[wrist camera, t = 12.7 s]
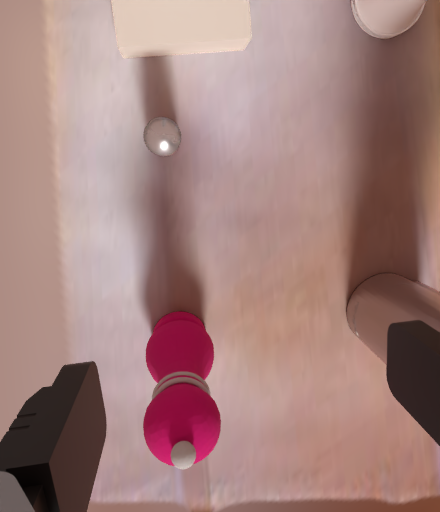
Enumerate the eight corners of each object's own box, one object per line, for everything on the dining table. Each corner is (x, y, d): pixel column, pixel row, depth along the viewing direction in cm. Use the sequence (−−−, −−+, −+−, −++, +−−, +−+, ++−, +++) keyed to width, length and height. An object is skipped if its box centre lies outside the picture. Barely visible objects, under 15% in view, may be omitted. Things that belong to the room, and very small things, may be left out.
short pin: (178, 123, 40) (178, 115, 33) (181, 155, 41) (183, 153, 34) (146, 125, 40) (141, 118, 33) (150, 157, 40) (146, 157, 34)
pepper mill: (137, 324, 45) (108, 449, 25) (192, 296, 45) (207, 399, 25) (166, 373, 46) (161, 524, 27) (220, 346, 46) (253, 478, 27)
